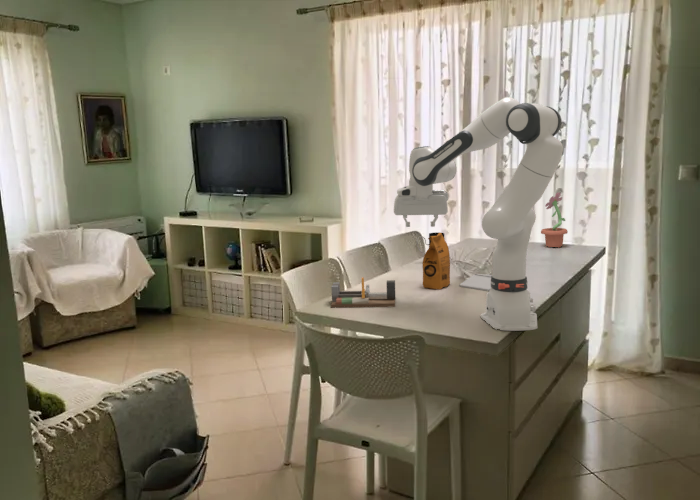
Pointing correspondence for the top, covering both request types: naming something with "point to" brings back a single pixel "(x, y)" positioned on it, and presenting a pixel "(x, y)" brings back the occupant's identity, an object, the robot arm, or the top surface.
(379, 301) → the gauge base
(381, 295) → the grey notched block
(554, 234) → the decorative flower
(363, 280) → the orange angled bar
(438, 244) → the coffee package
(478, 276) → the gadget
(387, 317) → the top surface
